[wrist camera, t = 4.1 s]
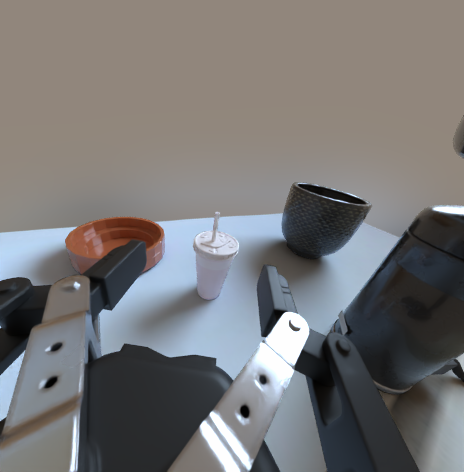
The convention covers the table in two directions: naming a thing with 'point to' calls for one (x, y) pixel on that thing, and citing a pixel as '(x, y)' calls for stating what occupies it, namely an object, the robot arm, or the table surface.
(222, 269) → the smoothie
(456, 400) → the table surface
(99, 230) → the bowl
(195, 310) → the table surface
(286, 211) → the planter
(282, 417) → the table surface
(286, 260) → the table surface
